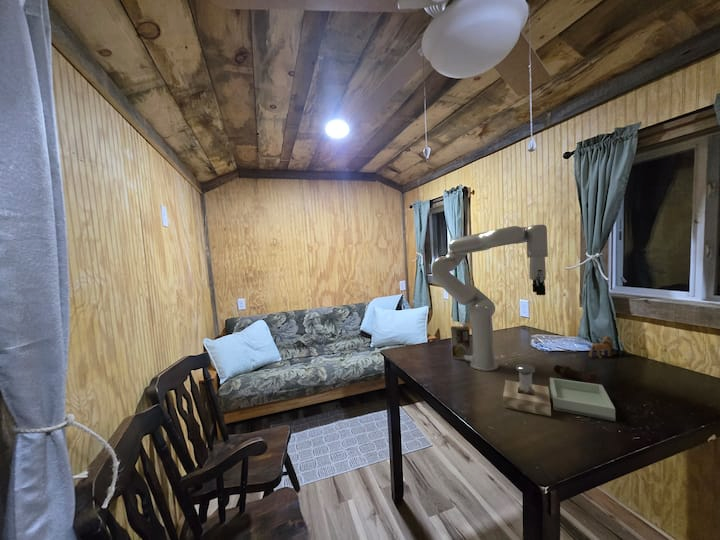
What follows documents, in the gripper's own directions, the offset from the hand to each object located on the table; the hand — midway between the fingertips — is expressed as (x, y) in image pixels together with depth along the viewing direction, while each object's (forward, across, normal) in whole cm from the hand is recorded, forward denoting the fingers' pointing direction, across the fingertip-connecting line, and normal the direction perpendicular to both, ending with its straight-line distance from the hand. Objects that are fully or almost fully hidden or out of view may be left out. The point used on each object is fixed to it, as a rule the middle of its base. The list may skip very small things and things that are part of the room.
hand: (538, 293), depth 121 cm
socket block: (+36, +26, -9) cm, 46 cm away
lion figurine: (+36, -33, +30) cm, 58 cm away
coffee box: (+36, -14, -34) cm, 52 cm away
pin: (+36, +26, -9) cm, 46 cm away
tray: (+36, +21, +8) cm, 43 cm away
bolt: (+37, 0, +11) cm, 38 cm away
